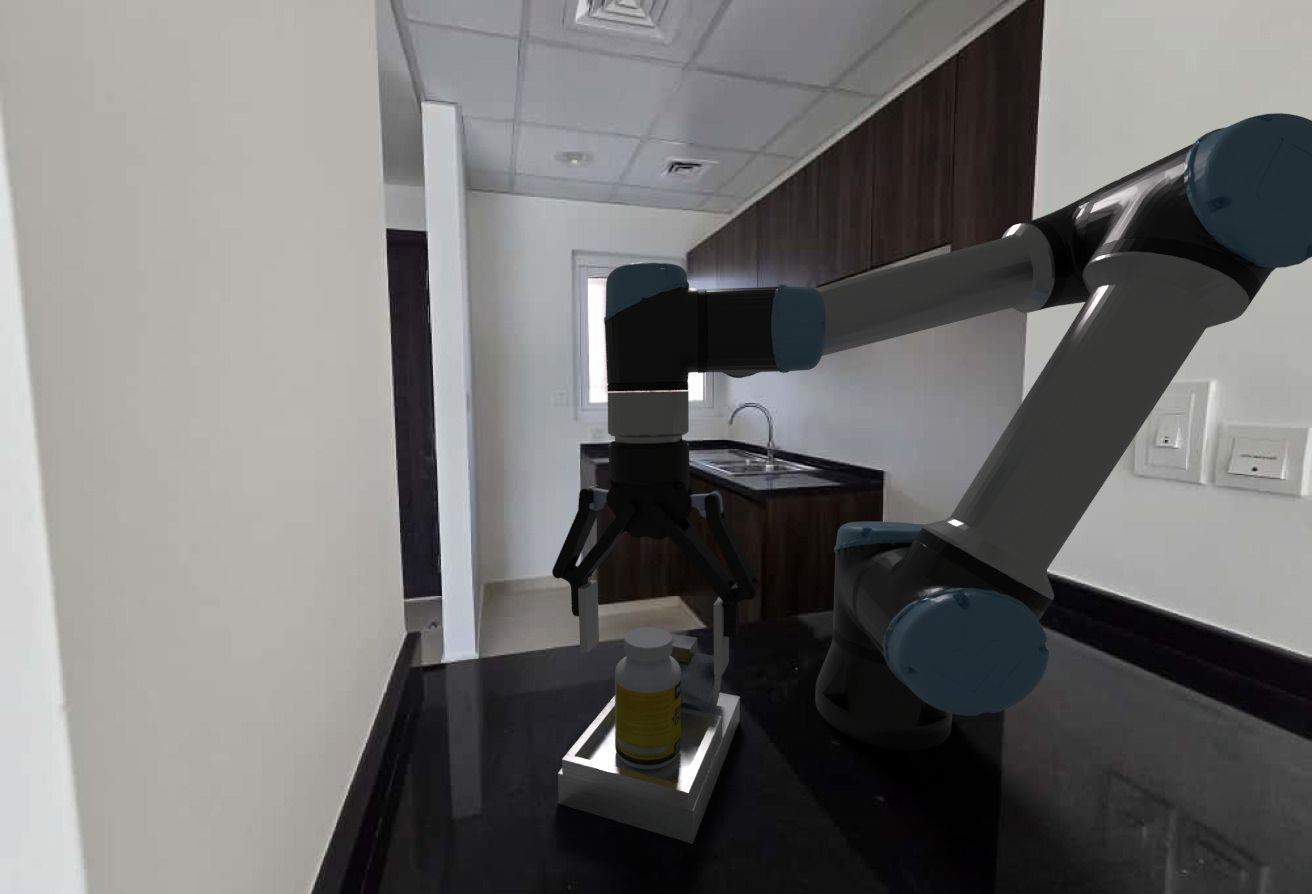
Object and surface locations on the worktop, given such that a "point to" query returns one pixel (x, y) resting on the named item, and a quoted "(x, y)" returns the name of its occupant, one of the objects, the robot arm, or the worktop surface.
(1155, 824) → the worktop surface
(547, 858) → the worktop surface
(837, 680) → the robot arm
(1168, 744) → the worktop surface
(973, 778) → the worktop surface
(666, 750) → the pill bottle
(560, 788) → the motor base
